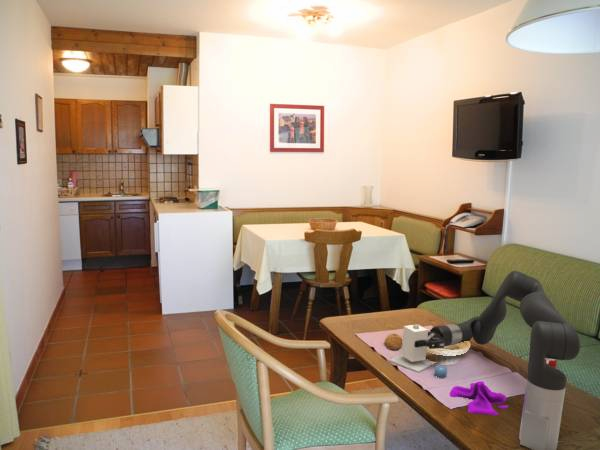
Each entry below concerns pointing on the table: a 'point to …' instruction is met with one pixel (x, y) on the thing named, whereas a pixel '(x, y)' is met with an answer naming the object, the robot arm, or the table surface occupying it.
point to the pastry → (393, 341)
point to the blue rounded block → (440, 371)
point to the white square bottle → (409, 338)
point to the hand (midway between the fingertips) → (409, 340)
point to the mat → (411, 363)
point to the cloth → (480, 398)
